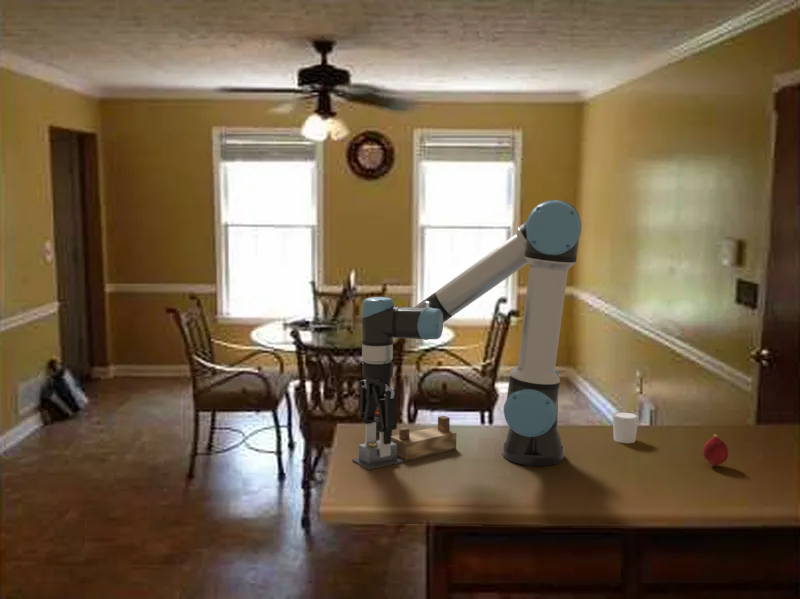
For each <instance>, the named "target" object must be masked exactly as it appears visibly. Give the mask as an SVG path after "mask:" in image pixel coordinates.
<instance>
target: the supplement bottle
mask: <svg viewBox="0 0 800 599" xmlns="http://www.w3.org/2000/svg"><path fill="white" fill-rule="evenodd" d="M380 400H384V399H380ZM374 418H375V419H376V421H374V422H375V423H376V441H379V440H380V431H379V430H381V429H382V428H381V422H380V416H379V409H378V404H377V406H376V412H375V417H374ZM372 423H373V422H372ZM385 426H386V425H385ZM391 436H393V430H392V431H391Z"/></svg>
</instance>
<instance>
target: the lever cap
mask: <svg viewBox="0 0 800 599" xmlns="http://www.w3.org/2000/svg"><path fill="white" fill-rule="evenodd" d="M358 458H359V461H361V462H363V463H365V464H367V465H369V466H372V465H376V464H381V463H385V462H390V461H394V460H397V458H398V457H397V444H395V443H393V442H391V455H390V456H385V457H380V440H376V441H374V442H369V443H365V442H364V443H360V444H358Z"/></svg>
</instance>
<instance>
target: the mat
mask: <svg viewBox="0 0 800 599" xmlns="http://www.w3.org/2000/svg"><path fill="white" fill-rule="evenodd" d="M351 461H352V462H353V463H356V464H358V466H361V467H362V466H363V468H364V469H365V470H368V471H372V470H375V469H374V468H377V469H380V468H379V467H381V468H384V467H383V466H385V467H389V466H388V465H390V466H393V465H392V464H394V465H398V464H397V463H399V464H402V463H401V462H403V463H404V460H403V459H401V458H399V457H397V460H394V461H390V462H385V463H381V464H376V465H372V466H369V465H367V464H365V463H363V462H361V461H359V457H356V458H351ZM371 469H372V470H371Z"/></svg>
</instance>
